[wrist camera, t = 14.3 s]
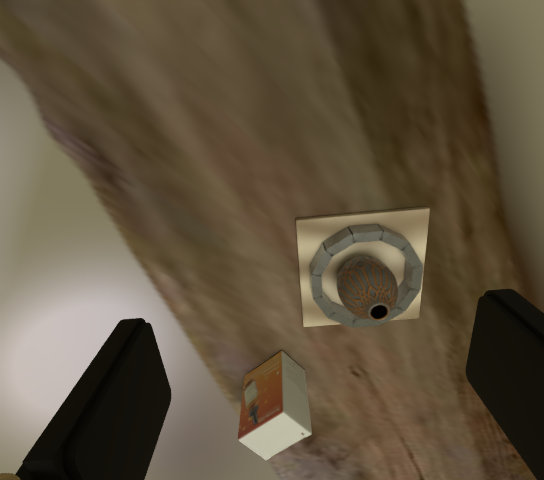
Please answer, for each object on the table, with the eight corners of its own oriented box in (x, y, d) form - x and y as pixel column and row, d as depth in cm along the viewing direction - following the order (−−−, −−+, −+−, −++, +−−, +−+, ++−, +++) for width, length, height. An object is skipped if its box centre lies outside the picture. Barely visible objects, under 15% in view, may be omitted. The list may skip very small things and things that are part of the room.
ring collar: (307, 229, 40) (309, 237, 37) (418, 219, 39) (427, 227, 37) (312, 318, 45) (314, 330, 43) (409, 311, 44) (417, 322, 42)
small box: (281, 348, 48) (284, 411, 38) (305, 369, 50) (313, 434, 40) (243, 375, 50) (236, 440, 41) (267, 394, 52) (265, 462, 42)
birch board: (295, 218, 40) (296, 220, 39) (426, 206, 39) (429, 208, 39) (303, 323, 46) (303, 326, 45) (416, 314, 46) (418, 318, 45)
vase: (396, 269, 42) (426, 310, 34) (357, 303, 44) (376, 349, 36) (360, 237, 40) (382, 272, 32) (321, 274, 42) (332, 315, 34)
